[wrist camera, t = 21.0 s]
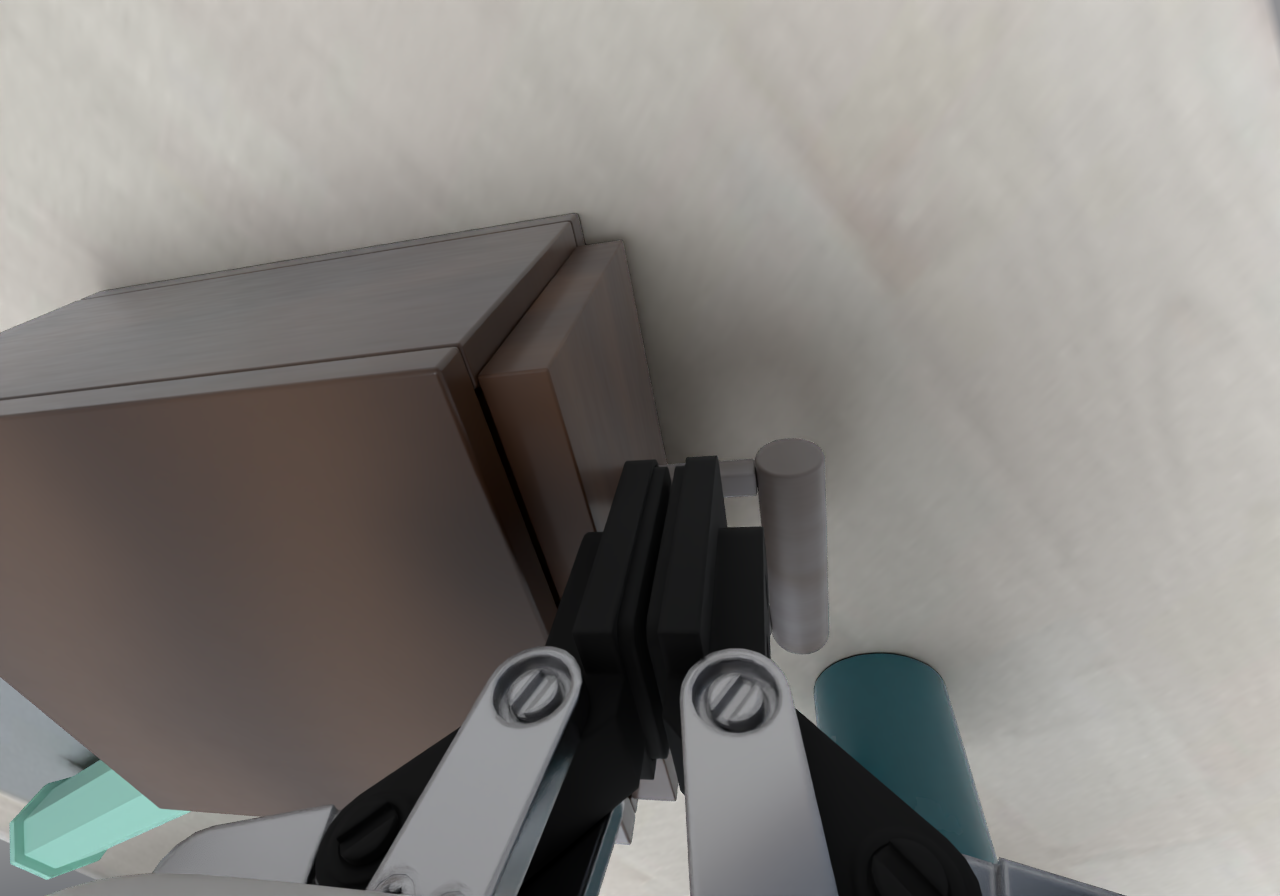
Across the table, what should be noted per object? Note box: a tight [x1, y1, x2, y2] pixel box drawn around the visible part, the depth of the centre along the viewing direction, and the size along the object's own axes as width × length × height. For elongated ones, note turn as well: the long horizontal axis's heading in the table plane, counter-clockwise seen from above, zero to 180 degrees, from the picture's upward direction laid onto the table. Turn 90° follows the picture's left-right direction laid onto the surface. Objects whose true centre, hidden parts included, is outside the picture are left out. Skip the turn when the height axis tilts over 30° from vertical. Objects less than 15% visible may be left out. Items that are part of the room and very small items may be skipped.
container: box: [10, 760, 191, 880], centre depth 34 cm, size 6×6×25 cm
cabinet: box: [0, 213, 638, 845], centre depth 17 cm, size 16×14×9 cm
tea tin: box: [814, 653, 998, 864], centre depth 20 cm, size 5×5×12 cm
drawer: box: [474, 240, 829, 801], centre depth 17 cm, size 19×13×7 cm
